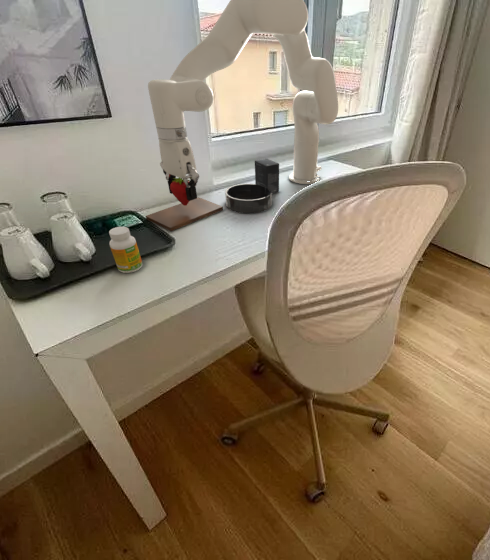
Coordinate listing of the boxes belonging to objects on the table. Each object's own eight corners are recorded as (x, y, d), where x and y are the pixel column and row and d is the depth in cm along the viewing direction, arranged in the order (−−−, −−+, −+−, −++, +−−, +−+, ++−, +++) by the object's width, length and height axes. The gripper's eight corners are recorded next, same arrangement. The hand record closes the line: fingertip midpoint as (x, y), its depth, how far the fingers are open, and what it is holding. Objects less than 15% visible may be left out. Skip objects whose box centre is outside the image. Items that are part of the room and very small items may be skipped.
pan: (248, 192, 117) (247, 180, 115) (280, 203, 110) (280, 191, 108) (216, 205, 107) (215, 192, 105) (250, 218, 100) (249, 204, 98)
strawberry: (183, 199, 102) (177, 167, 96) (201, 204, 99) (196, 172, 94) (169, 205, 98) (161, 173, 92) (187, 211, 95) (181, 178, 89)
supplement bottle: (134, 275, 73) (122, 237, 68) (113, 271, 74) (99, 234, 68) (147, 262, 78) (137, 226, 72) (127, 259, 79) (115, 223, 73)
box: (279, 192, 119) (279, 163, 113) (266, 195, 116) (266, 165, 110) (267, 185, 124) (267, 157, 118) (255, 188, 121) (254, 160, 115)
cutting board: (199, 200, 110) (198, 197, 109) (223, 210, 104) (223, 206, 104) (146, 219, 96) (145, 215, 96) (170, 231, 91) (170, 227, 90)
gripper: (204, 136, 85) (212, 199, 95) (164, 126, 93) (176, 185, 103) (181, 141, 80) (192, 207, 90) (141, 130, 88) (155, 192, 98)
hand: (183, 195), depth 97 cm, fingers closed on strawberry, 7 cm apart
